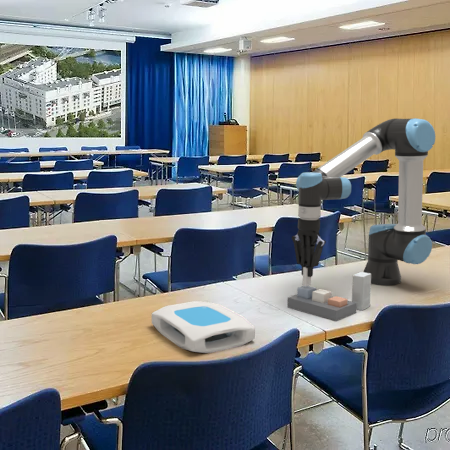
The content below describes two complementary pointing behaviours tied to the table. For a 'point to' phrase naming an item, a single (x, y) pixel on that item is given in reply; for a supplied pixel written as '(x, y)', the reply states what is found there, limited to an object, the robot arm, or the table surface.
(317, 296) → the white key
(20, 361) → the table surface
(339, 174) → the robot arm
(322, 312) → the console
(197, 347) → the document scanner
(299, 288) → the slate key
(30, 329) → the table surface
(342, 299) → the terracotta key
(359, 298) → the skincare box
